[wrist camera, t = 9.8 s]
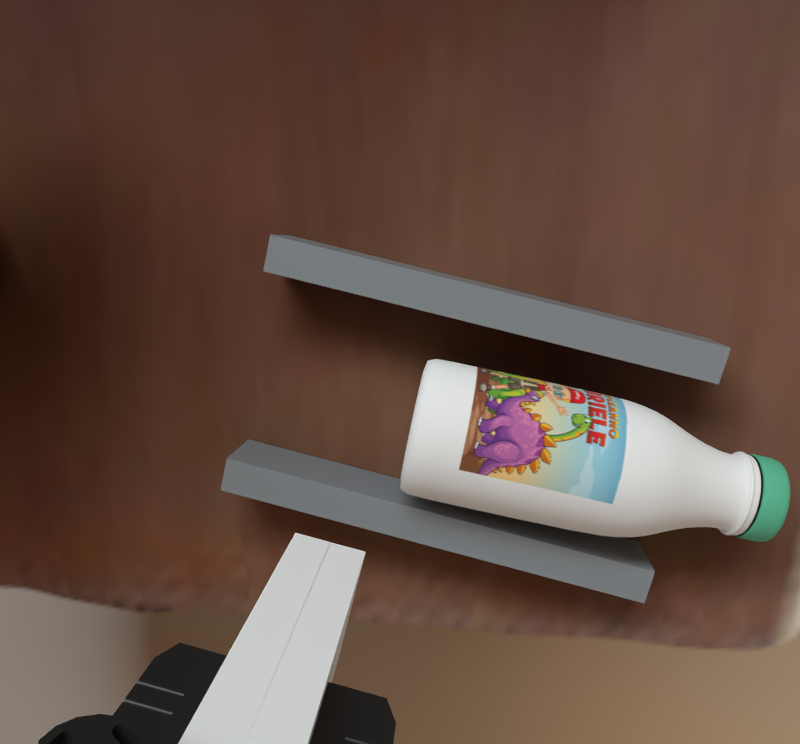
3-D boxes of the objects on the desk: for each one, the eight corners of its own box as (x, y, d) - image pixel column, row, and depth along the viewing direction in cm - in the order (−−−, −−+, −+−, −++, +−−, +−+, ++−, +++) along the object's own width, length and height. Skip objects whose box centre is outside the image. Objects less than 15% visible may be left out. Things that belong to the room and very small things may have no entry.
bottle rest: (242, 468, 45) (220, 490, 41) (289, 235, 42) (270, 234, 38) (629, 570, 44) (644, 603, 40) (706, 337, 41) (731, 347, 37)
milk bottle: (412, 424, 45) (727, 492, 44) (390, 520, 39) (753, 601, 38) (431, 328, 40) (788, 402, 39) (409, 423, 34) (828, 513, 33)
